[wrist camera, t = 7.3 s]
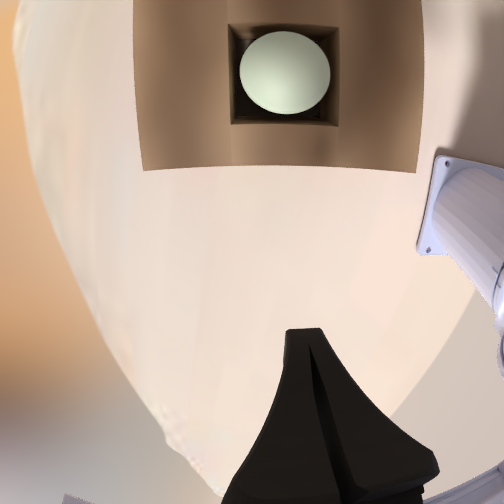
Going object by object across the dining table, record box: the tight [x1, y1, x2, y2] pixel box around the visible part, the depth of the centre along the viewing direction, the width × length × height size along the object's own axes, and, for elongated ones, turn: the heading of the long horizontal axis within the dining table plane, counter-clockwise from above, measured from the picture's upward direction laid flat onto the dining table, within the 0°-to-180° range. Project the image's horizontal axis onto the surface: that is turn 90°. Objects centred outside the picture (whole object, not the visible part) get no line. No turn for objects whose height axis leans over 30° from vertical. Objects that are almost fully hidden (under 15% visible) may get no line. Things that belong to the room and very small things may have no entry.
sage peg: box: [240, 31, 330, 114], centre depth 13 cm, size 4×4×4 cm
